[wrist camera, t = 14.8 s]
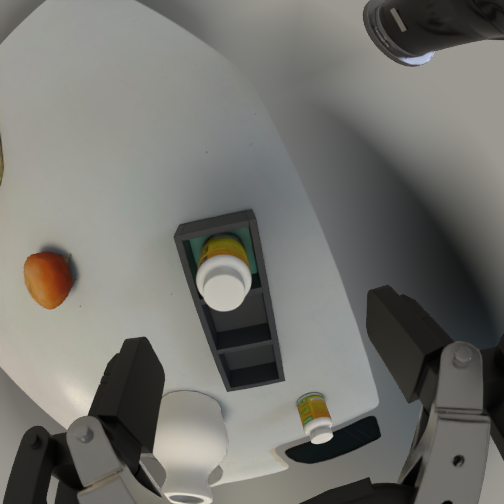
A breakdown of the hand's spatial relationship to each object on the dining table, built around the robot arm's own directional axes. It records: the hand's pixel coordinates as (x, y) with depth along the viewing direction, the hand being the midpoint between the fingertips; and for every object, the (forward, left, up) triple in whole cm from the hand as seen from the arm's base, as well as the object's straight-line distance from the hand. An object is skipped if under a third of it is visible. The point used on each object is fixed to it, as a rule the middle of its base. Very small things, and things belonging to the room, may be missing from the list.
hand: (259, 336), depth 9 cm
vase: (+17, +37, -26) cm, 48 cm away
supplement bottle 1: (+3, +6, -25) cm, 26 cm away
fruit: (+28, +4, -26) cm, 38 cm away
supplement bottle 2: (-6, +41, -26) cm, 49 cm away
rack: (+3, +15, -26) cm, 30 cm away
